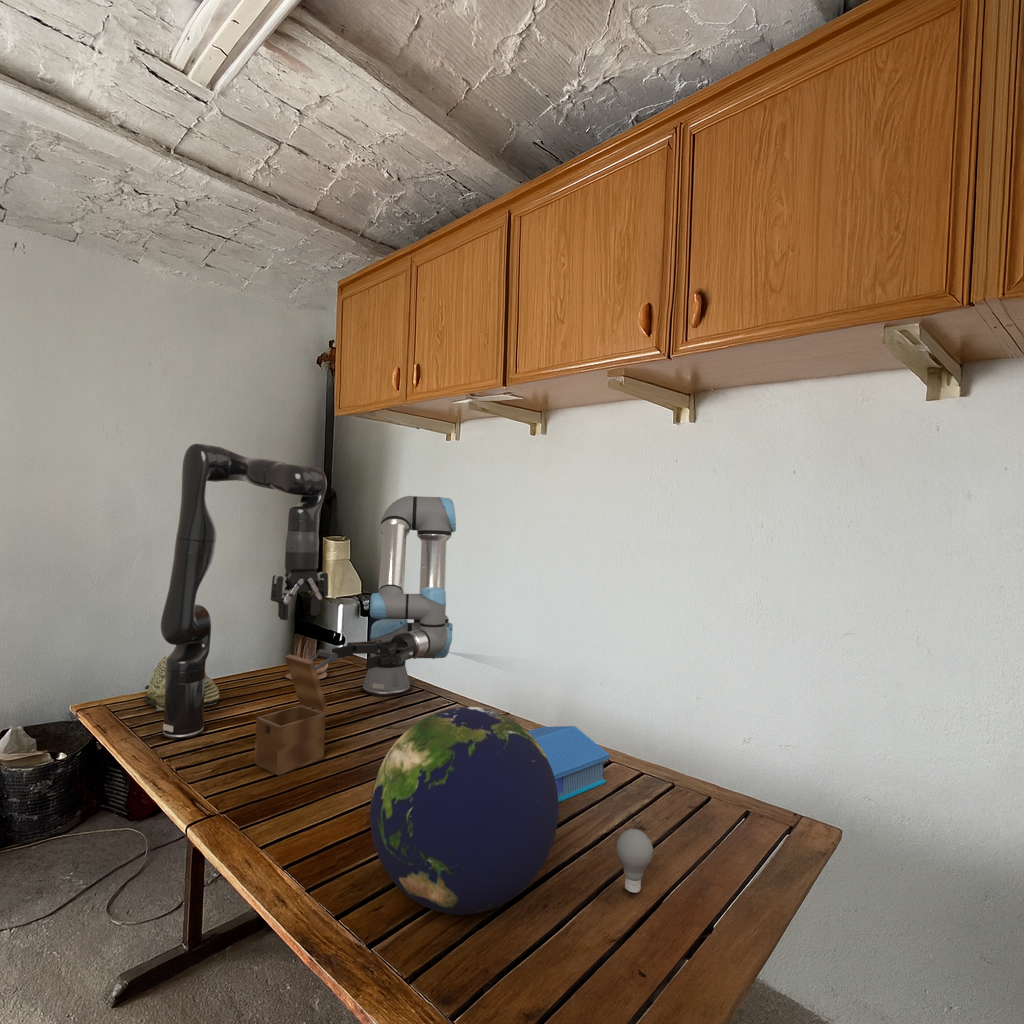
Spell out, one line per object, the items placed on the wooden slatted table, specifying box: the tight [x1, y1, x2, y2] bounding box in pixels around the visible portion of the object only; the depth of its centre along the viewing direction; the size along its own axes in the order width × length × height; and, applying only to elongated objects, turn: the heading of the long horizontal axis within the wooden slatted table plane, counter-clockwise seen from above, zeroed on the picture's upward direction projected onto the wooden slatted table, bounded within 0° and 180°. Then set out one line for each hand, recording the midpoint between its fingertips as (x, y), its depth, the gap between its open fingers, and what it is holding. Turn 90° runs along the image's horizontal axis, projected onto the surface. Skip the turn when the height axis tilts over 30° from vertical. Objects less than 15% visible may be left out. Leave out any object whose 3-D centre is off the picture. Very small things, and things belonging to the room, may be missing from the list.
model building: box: [526, 725, 610, 803], centre depth 140 cm, size 39×24×10 cm, turn 132°
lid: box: [284, 648, 339, 713], centre depth 156 cm, size 13×10×9 cm
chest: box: [254, 704, 327, 776], centre depth 150 cm, size 12×10×11 cm
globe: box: [369, 706, 560, 916], centre depth 102 cm, size 30×30×30 cm
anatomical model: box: [284, 663, 329, 680], centre depth 220 cm, size 13×4×12 cm
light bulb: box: [615, 828, 654, 894], centre depth 106 cm, size 6×6×10 cm
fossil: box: [146, 654, 221, 712], centre depth 185 cm, size 9×18×15 cm, turn 132°
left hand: (299, 617), depth 151 cm, fingers open, 8 cm apart
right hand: (349, 658), depth 164 cm, fingers open, 13 cm apart
